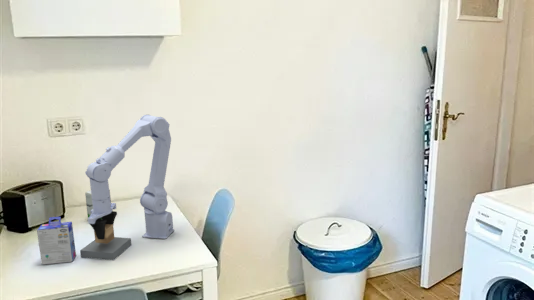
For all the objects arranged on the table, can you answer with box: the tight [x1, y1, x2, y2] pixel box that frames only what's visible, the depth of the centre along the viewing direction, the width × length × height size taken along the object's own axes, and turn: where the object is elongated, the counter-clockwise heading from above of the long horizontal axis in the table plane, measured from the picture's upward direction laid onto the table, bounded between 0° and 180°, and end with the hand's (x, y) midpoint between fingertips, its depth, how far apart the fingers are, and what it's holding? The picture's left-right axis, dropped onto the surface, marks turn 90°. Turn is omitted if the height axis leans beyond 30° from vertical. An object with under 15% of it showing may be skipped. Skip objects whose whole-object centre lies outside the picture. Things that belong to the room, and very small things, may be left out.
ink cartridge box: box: [36, 216, 77, 265], centre depth 152 cm, size 10×6×14 cm, turn 101°
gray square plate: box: [79, 236, 132, 261], centre depth 160 cm, size 12×12×3 cm
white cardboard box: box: [84, 189, 112, 219], centre depth 189 cm, size 9×5×12 cm, turn 143°
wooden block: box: [93, 224, 115, 243], centre depth 158 cm, size 4×4×5 cm
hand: (105, 235), depth 159 cm, fingers closed on wooden block, 4 cm apart
